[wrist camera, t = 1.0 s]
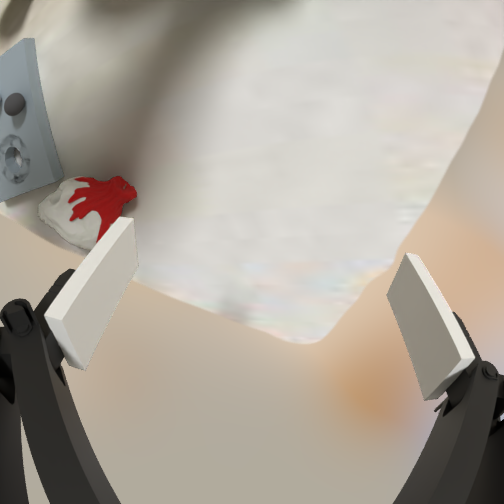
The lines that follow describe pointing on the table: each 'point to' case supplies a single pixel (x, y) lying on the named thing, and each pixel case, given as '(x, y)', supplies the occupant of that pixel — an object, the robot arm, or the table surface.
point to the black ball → (14, 104)
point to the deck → (25, 126)
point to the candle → (85, 208)
